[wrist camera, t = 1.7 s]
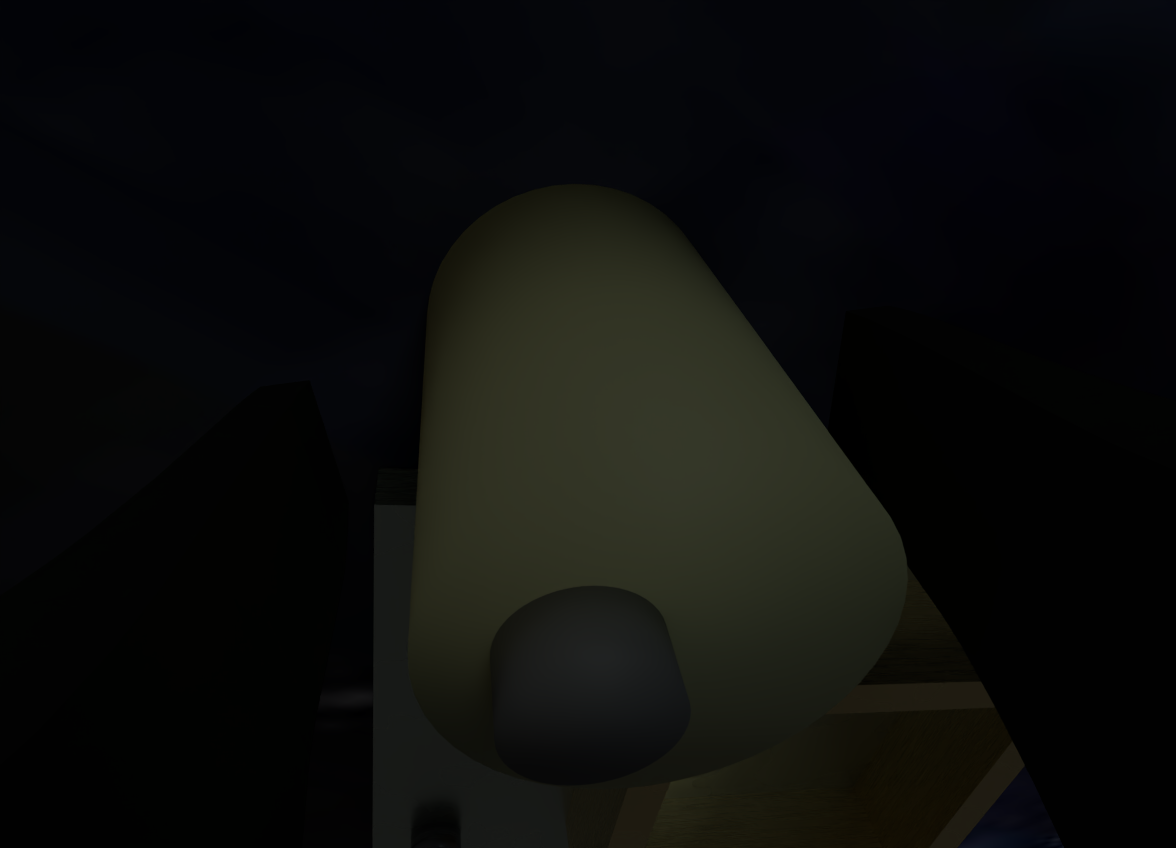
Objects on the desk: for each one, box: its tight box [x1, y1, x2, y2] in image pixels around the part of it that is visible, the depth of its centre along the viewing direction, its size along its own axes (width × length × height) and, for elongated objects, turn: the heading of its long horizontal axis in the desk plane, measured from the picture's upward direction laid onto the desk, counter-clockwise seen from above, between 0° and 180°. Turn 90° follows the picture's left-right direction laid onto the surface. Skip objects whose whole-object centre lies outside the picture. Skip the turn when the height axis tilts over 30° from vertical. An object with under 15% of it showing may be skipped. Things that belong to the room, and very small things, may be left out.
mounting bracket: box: [373, 468, 1025, 848], centre depth 17 cm, size 16×12×4 cm
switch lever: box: [408, 184, 908, 789], centre depth 9 cm, size 5×5×7 cm
